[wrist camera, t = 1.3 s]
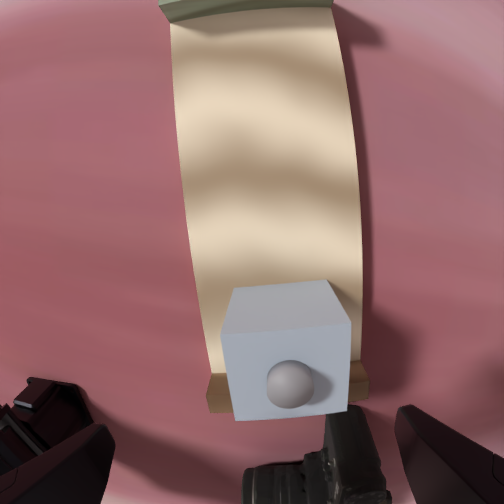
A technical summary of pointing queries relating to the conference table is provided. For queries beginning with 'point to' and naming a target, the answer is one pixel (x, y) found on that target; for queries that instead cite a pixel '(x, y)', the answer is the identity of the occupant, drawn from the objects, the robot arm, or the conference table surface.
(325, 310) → the block
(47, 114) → the conference table surface
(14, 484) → the robot arm
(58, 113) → the conference table surface
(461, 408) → the conference table surface
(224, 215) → the track
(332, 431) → the camera
